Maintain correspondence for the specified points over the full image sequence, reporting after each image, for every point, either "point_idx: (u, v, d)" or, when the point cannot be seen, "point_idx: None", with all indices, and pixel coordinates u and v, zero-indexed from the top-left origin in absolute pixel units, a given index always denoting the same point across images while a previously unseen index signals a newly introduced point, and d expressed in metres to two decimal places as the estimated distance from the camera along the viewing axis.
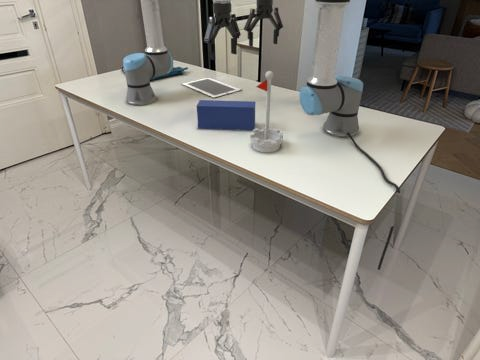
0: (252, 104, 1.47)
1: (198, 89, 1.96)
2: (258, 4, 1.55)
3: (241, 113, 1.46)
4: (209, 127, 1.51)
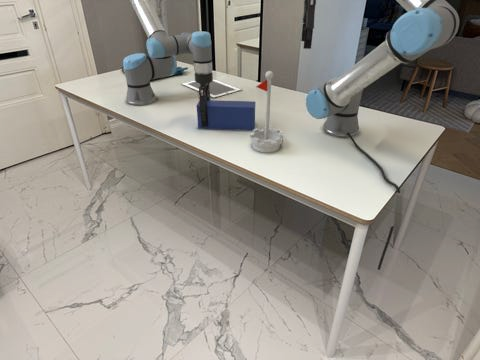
0: (252, 104, 1.47)
1: (198, 89, 1.96)
2: None
3: (241, 113, 1.46)
4: (209, 127, 1.51)
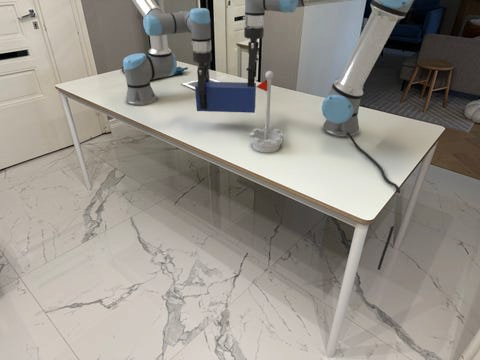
0: None
1: None
2: (255, 37, 1.29)
3: (241, 94, 1.42)
4: (208, 109, 1.47)
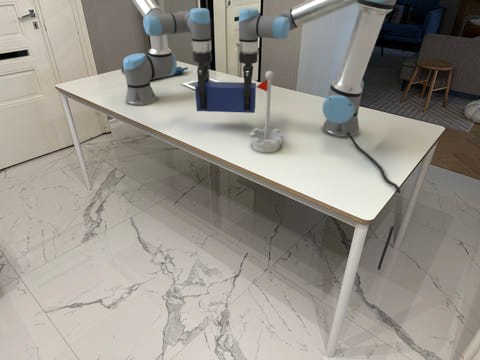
0: (252, 85, 1.42)
1: None
2: (249, 62, 1.34)
3: (241, 94, 1.42)
4: (208, 109, 1.47)
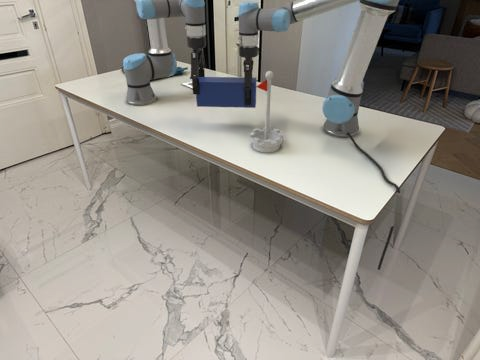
0: (253, 80, 1.41)
1: None
2: (249, 56, 1.33)
3: (241, 89, 1.40)
4: (208, 105, 1.45)
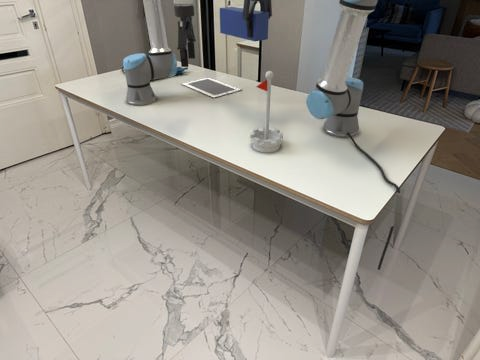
0: (259, 13, 1.42)
1: (198, 89, 1.96)
2: None
3: None
4: (226, 32, 1.58)
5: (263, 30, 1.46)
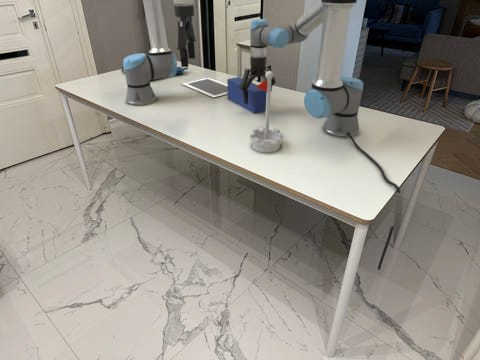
0: (258, 90, 1.63)
1: (198, 89, 1.96)
2: (252, 64, 1.56)
3: (248, 94, 1.67)
4: (232, 100, 1.80)
5: (262, 103, 1.67)
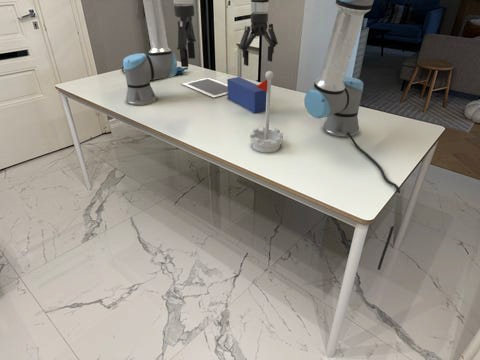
0: (258, 90, 1.63)
1: (198, 89, 1.96)
2: (253, 21, 1.46)
3: (248, 94, 1.67)
4: (232, 100, 1.80)
5: (262, 103, 1.67)
